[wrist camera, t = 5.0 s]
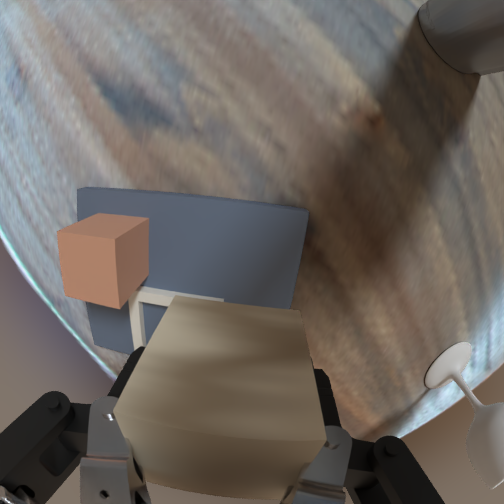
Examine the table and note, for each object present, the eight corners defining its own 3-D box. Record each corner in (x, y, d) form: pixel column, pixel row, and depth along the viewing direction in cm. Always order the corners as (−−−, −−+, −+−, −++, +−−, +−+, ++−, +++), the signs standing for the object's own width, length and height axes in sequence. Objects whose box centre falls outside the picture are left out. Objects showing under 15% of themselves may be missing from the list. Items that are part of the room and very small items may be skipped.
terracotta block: (149, 218, 21) (114, 239, 15) (148, 274, 23) (119, 309, 17) (98, 213, 21) (57, 231, 15) (101, 266, 22) (65, 295, 17)
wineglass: (423, 395, 30) (474, 501, 10) (425, 360, 28) (497, 484, 8) (467, 369, 29) (527, 460, 9) (473, 331, 26) (555, 430, 7)
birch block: (300, 310, 11) (327, 439, 5) (278, 392, 12) (283, 499, 7) (175, 294, 11) (112, 410, 5) (179, 380, 12) (147, 481, 7)
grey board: (306, 208, 22) (311, 214, 20) (272, 367, 28) (273, 383, 25) (86, 187, 21) (70, 190, 19) (100, 337, 27) (90, 349, 25)
